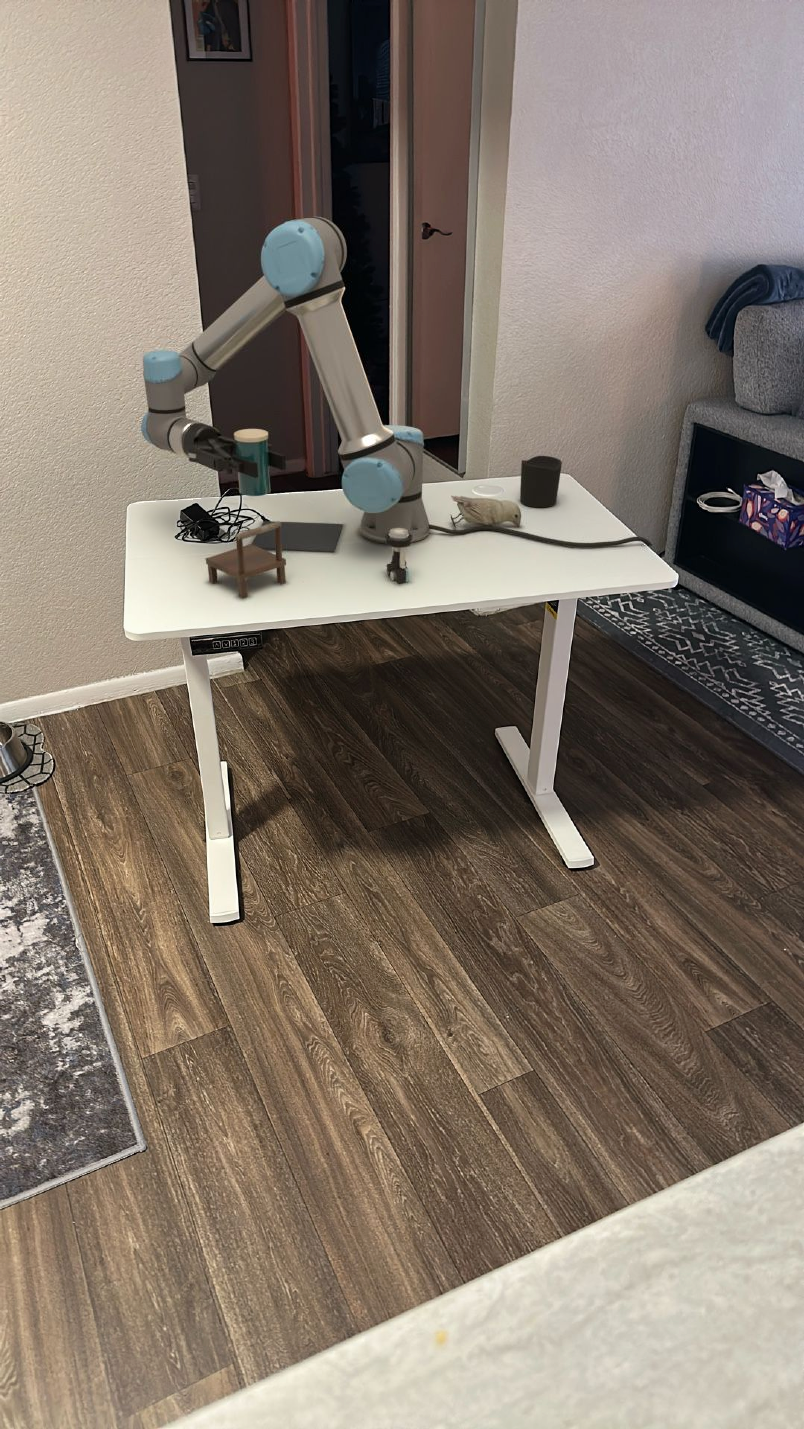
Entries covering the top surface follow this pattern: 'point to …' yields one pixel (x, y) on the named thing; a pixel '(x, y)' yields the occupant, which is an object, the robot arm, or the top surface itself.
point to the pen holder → (540, 481)
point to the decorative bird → (487, 511)
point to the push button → (398, 553)
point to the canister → (254, 449)
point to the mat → (301, 537)
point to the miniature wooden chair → (249, 559)
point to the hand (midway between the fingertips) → (270, 466)
